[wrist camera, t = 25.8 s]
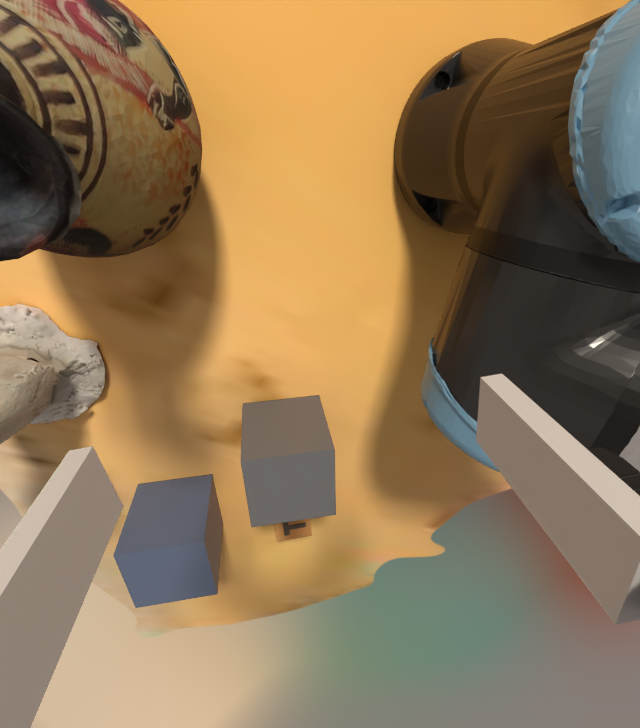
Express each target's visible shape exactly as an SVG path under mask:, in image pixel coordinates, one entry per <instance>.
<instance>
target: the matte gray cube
mask: <svg viewBox="0 0 640 728" xmlns="http://www.w3.org/2000/svg"><path fill="white" fill-rule="evenodd" d="M241 466H242V472H243V478H244V484H245V490H246V496H247V503H248V509H249V515H250V521H251V527H257V526H264V525H270V524H277V523H284V522H290V521H297V520H304V519H310V518H317V517H324V516H330V515H336V497H335V449H334V445H333V442H332V438H331V435H330V431H329V428H328V425H327V421H326V418H325V414H324V411H323V407H322V404H321V401H320V397H319V395H316V396H307V397H298V398H289V399H280V400H271V401H262V402H253V403H243V410H242V440H241Z"/></svg>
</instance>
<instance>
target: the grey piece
mask: <svg viewBox="0 0 640 728" xmlns="http://www.w3.org/2000/svg"><path fill="white" fill-rule="evenodd" d="M97 345H98V343H97V342H94V341H93V340H88V339H87V340H84V339H82V340H79V339H78V338H72V337H70V336H67V335H66V334H65V333H64V332H62V331H61V330H60V329H59V328H58V326H57V325H56V324H54V323H53V322H52V321H51V320H50V319H49V316H48V315H46V314H45V313H43V311H42V310H40V309H39V308H35V307H28V306H27V305H22V304H16V305H14V306H3V307H0V444H1V443H3V442H4V441H6V440H7V439H9V438H10V437H11V436H12V435H14V434H15V433H17V432H18V431H19V430H20V429H21V428H23V427H25V426H26V425H27V424H29V423H30V424H37V423H44V422H46V423H51V422H52V421H57V420H62V419H65V418H69V419H71V420H72V419H74V418H75V417H78V416H80V414H81V413H83V412H85V411H86V410H88V407H89V406H90V405H92V403H93V402H94V401H96V400H97V399H98V398H99V397H100V395H101V393H102V390H103V389H104V385H105V368H104V363H103V361H102V357H101V355H100V353H99V351H98V350H97ZM27 358H33V359H35V360H37V361H39V363H38V362H35V361H33V360H27ZM67 420H68V419H67Z"/></svg>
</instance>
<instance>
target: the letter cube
mask: <svg viewBox="0 0 640 728" xmlns="http://www.w3.org/2000/svg"><path fill="white" fill-rule="evenodd" d="M275 528H276V534H277V541H282V540H288V539H293V538H299V537H305V536H311V535H312V532H311V522H310V519H304V520H297V521H290V522H284V523H277V524H275Z"/></svg>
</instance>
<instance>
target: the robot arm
mask: <svg viewBox="0 0 640 728" xmlns="http://www.w3.org/2000/svg"><path fill="white" fill-rule="evenodd" d="M395 169H396V175H397V179H398V183H399V186H400V189H401V191H402V193H403V195H404V197H405V199H406V201H407V203H408V204H409V206H410V207H411V208H412V209H413V211H414V212H415V213H416V214H417V215H418V216H419V217H421V218H422V219H423V220H425V221H426V222H428V223H429V224H431V225H433V226H435V227H438V228H441V229H444V230H447V231H450V232H454V233H463V234H470V236H469V239H468V242H467V244H466V246H465V249H464V252H463V255H462V258H461V261H460V264H459V267H458V270H457V273H456V276H455V279H454V282H453V285H452V288H451V291H450V293H449V296H448V299H447V302H446V305H445V308H444V311H443V314H442V317H441V320H440V323H439V326H438V329H437V332H436V335H435V337H433V338H432V340H431V342H430V345H429V348H428V360H427V363H426V367H425V371H424V375H423V378H422V382H421V396H422V401H423V403H424V405H425V407H426V409H427V410H428V414H429V416H430V418H431V420H432V421H433V422H434V424H435V425H436V426H437V428H438V429H439V430H440V431H441V432H442V433H443V434H444V435H445V436H446V437H447V438H448V439H449V440H450V441H451V442H452V443H453V444H454V445H455V446H457V447H458V448H459V449H461V450H462V451H463V452H465V453H466V454H467V455H469V456H470V457H472V458H473V459H475V460H477V461H478V462H480V463H482V464H484V465H485V466H487V467H489V468H491V469H493V470H496V471H498V472H500V473H501V474H502V476H503V477H504V478H505V480H506V481H507V482H508V483H509V485H510V486H511V487H512V489H513V490H514V491H515V493H516V494H517V495H518V497H519V498H520V499H521V501H522V502H523V503H524V505H525V506H526V507H527V509H528V510H529V511H530V513H531V514H532V515H533V516H534V518H535V519H536V520H537V522H538V523H539V524H540V526H541V527H542V528H543V530H544V531H545V532H546V534H547V535H548V536H549V538H550V539H551V540H552V542H553V543H554V544H555V546H556V547H557V548H558V549H559V551H560V552H561V554H562V555H563V556H564V557H565V559H566V560H567V561H568V563H569V564H570V565H571V567H572V568H573V569H574V571H575V572H576V573H577V575H578V576H579V577H580V579H581V580H582V581H583V583H584V584H585V585H586V587H587V588H588V589H589V590H590V592H591V593H592V594H593V596H594V597H595V598H596V600H597V601H598V602H599V604H600V605H601V606H602V608H603V609H604V610H605V612H606V613H607V614H608V616H609V617H610V618H611V619H612V621H613V622H614V624H615V625H616V624H621V623H625V622H630V621H634V620H639V619H640V0H631V1H630V2H628V3H627V4H625V5H624V6H623V7H621V8H619V9H617V10H614V11H612V12H610V13H607V14H605V15H603V16H600V17H598V18H596V19H593V20H591V21H589V22H586V23H584V24H582V25H579V26H577V27H575V28H572V29H570V30H568V31H565V32H563V33H561V34H558V35H556V36H554V37H551V38H549V39H547V40H544V41H542V42H540V43H537V44H535V45H532V44H528V43H525V42H521V41H517V40H513V39H506V38H494V39H487V40H482V41H478V42H475V43H472V44H469V45H467V46H465V47H463V48H461V49H459V50H457V51H455V52H454V53H452V54H450V55H448V56H447V57H445V58H444V59H442V60H441V61H439V62H438V63H437V64H436V65H435V66H433V67H432V68H431V69H430V70H429V71H428V72H427V73H426V74H425V75H424V77H423V78H422V79H421V80H420V82H419V83H418V84H417V86H416V87H415V89H414V90H413V92H412V93H411V95H410V97H409V99H408V101H407V103H406V105H405V107H404V110H403V112H402V115H401V118H400V121H399V125H398V129H397V134H396V140H395ZM122 508H123V504H122V502H121V500H120V498H119V496H118V494H117V492H116V490H115V489H114V487H113V485H112V483H111V481H110V479H109V477H108V475H107V473H106V471H105V469H104V467H103V465H102V463H101V461H100V459H99V457H98V455H97V453H96V452H95V450H94V448H93V446H92V447H87V448H81V449H75V450H70V451H68V453H67V454H66V456H65V457H64V459H63V460H62V462H61V463H60V464H59V466H58V467H57V469H56V470H55V472H54V473H53V475H52V476H51V477H50V479H49V480H48V482H47V483H46V485H45V486H44V488H43V489H42V490H41V492H40V493H39V495H38V496H37V498H36V499H35V501H34V502H33V504H32V505H31V506H30V508H29V509H28V511H27V512H26V514H25V515H24V517H23V518H22V519H21V521H20V522H19V524H18V525H17V527H16V528H15V530H14V531H13V533H12V534H11V536H10V537H9V538H8V540H7V541H6V543H5V544H4V546H3V547H2V548H1V550H0V728H30V727H31V725H32V722H33V720H34V718H35V715H36V713H37V711H38V708H39V706H40V703H41V701H42V699H43V696H44V694H45V692H46V689H47V687H48V684H49V682H50V679H51V677H52V675H53V672H54V670H55V668H56V665H57V663H58V661H59V658H60V655H61V653H62V651H63V649H64V646H65V644H66V642H67V639H68V637H69V634H70V632H71V630H72V627H73V625H74V623H75V620H76V618H77V615H78V613H79V610H80V608H81V606H82V604H83V601H84V599H85V596H86V594H87V592H88V589H89V587H90V584H91V582H92V580H93V577H94V575H95V573H96V570H97V568H98V565H99V563H100V561H101V558H102V556H103V554H104V551H105V549H106V546H107V544H108V542H109V539H110V537H111V535H112V532H113V530H114V527H115V525H116V523H117V520H118V518H119V516H120V513H121V511H122Z"/></svg>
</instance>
